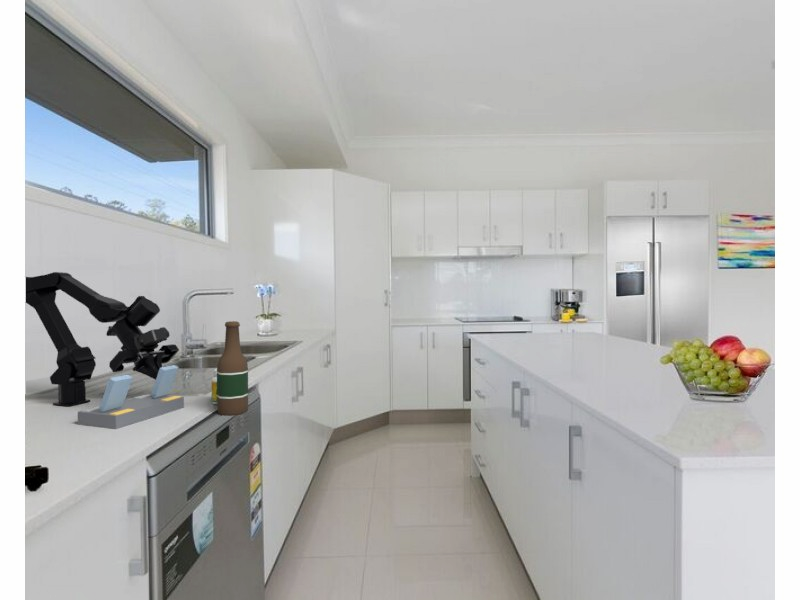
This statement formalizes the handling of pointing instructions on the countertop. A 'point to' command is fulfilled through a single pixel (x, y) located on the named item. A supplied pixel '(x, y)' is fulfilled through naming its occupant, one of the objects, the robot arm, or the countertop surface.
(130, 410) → the switch panel
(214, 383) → the supplement bottle
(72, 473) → the countertop surface
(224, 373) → the beer bottle
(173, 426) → the countertop surface
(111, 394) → the upright blue panel
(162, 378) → the panel
